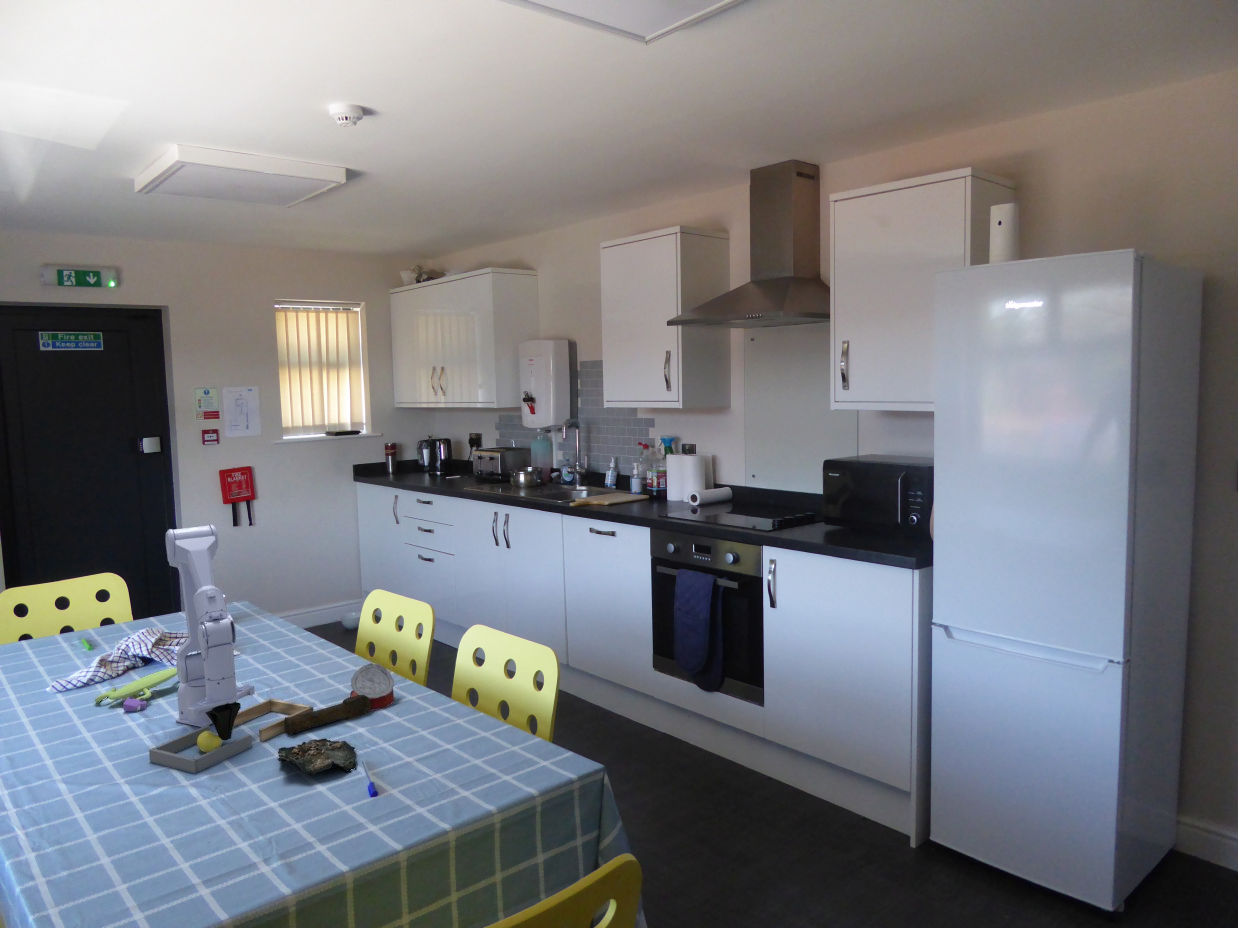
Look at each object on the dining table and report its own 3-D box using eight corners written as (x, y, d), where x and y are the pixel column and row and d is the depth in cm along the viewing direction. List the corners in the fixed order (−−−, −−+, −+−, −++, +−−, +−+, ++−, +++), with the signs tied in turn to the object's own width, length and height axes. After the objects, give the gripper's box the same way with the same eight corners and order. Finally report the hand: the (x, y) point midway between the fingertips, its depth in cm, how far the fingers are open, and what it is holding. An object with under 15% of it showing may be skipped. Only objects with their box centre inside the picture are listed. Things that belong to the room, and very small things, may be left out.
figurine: (230, 691, 207) (228, 669, 207) (107, 721, 189) (105, 697, 189) (208, 673, 221) (206, 653, 220) (91, 700, 203) (89, 678, 203)
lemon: (215, 741, 175) (213, 724, 175) (226, 753, 169) (224, 734, 169) (193, 747, 172) (192, 729, 172) (204, 759, 166) (202, 741, 166)
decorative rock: (261, 739, 166) (335, 713, 175) (266, 768, 167) (339, 741, 176) (289, 764, 151) (368, 735, 160) (294, 796, 152) (373, 765, 161)
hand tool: (288, 738, 176) (287, 717, 175) (283, 732, 179) (282, 712, 179) (375, 716, 187) (374, 696, 187) (369, 710, 190) (368, 691, 190)
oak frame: (218, 731, 180) (217, 720, 180) (271, 708, 193) (270, 698, 192) (262, 741, 174) (261, 729, 174) (313, 717, 187) (313, 706, 186)
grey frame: (149, 761, 166) (148, 749, 166) (208, 736, 178) (207, 725, 178) (194, 773, 160) (193, 760, 160) (252, 746, 172) (251, 734, 172)
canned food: (391, 714, 199) (409, 678, 199) (375, 727, 189) (394, 688, 189) (351, 692, 200) (369, 656, 200) (332, 704, 190) (351, 665, 190)
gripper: (201, 689, 164) (207, 755, 166) (262, 667, 177) (267, 728, 179) (178, 685, 168) (184, 749, 169) (240, 663, 181) (244, 723, 182)
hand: (225, 738), depth 174 cm, fingers closed
